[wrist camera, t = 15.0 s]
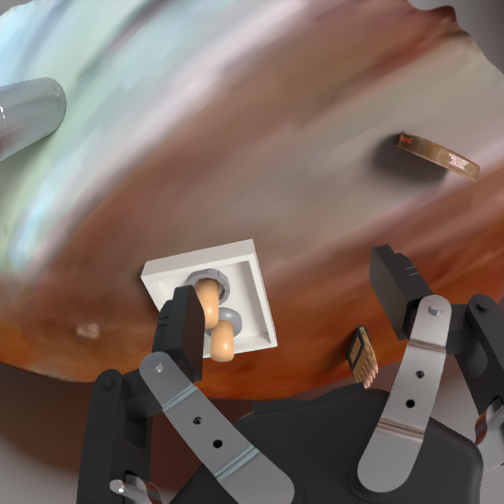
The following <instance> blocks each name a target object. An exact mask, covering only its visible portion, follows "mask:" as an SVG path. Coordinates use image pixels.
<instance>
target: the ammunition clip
mask: <svg viewBox="0 0 504 504" xmlns="http://www.w3.org/2000/svg"><path fill="white" fill-rule="evenodd" d="M371 345H372V342H371V340H370V337H369V335H368V332H367V329H366V327H365V326H359V327H357V329H356V332H355V335H354V337H353V340H352V343H351V345H350V348H349V350H348V353H347V355H346V357H347V359H348V362H349V365H350V368H351V371H352V373H353V374H354V377H355V380H356V382H357V383H358V382H362V381H363V383H364V387H365V388H367V386H368V387H370V382H371V383H372V377H373V378H375V372H376V373H378V366H377V362H376V359H375V354H374V352H373V349H372V346H371Z"/></svg>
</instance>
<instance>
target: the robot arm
mask: <svg viewBox="0 0 504 504" xmlns="http://www.w3.org/2000/svg"><path fill="white" fill-rule="evenodd" d="M65 109H66V99H65V94H64V92H63V89H62V88H61V86H60V85H59V84H58V83H57V82H56V81H55V80H53V79H50V78H39V79H34V80H28V81H23V82H19V83H14V84H10V85H6V86H2V87H0V162H1V161H3V160H4V159H6V158H8V157H9V156H11V155H13V154H14V153H16V152H18V151H20V150H21V149H23V148H25V147H27V146H29V145H30V144H32V143H34V142H36V141H38V140H40V139H42V138H44V137H46V136H48V135H49V134H51V133H53V132H54V131H55V130H56V129H57V128H58V127H59V126H60V124H61V122H62V120H63V118H64V115H65ZM370 281H371V285H372V287H373V289H374V291H375V293H376V295H377V297H378V299H379V301H380V303H381V305H382V307H383V309H384V311H385V313H386V315H387V317H388V319H389V321H390V323H391V325H392V327H393V329H394V331H395V333H396V335H397V337H398V340H399V341H400V340H403V339H406V338H407V339H408V341H409V342H408V345H407V348H406V351H405V354H404V357H403V360H402V363H401V367H400V369H399V372H398V375H397V377H396V380H395V383H394V385H393V388H392V391H391V393H389V392H387V391H384V390H380V389H372V388H365V387H364V383H363V381H362V382H358V383H355V384H351V385H347V386H343V387H339V388H336V389H334V390H332V391H330V392H328V393H325V394H324V395H321V396H319V397H317V398H315V399H313V400H309V401H300V400H298V401H297V400H276V401H270V402H263V403H257V404H253V405H254V411H253V412H251V413H249V414H247V415H245V416H243V417H241V418H240V419H238V421H236V422H235V423H234V424H233V425H232V424H231V423H230V422H229V421H228V420H227V419H226V418H225V417H224V416H223V415H222V414H221V413H220V412H219V411H218V410H217V409H216V408H215V407H214V406H213V405H212V403H211V402H210V401H209V400H208V399H207V398H206V397H205V396H204V395H203V394H202V392H201V391H200V390H199V389H198V388H197V387H196V386H195V385H193V382H195V381H202V366H203V349H204V334H205V314H204V310H203V307H202V305H201V303H200V301H199V298H198V296H197V294H196V291H195V289H194V287H193V285H186V286H180V287H176V288H175V289H174V294H173V299H172V300H167V301H166V302H165V304H164V305H163V307H162V308H161V310H160V315H159V320H158V324H157V328H156V333H155V338H154V343H153V348H152V353H151V354H149V355H148V356H146V357H145V358H144V359H143V361H142V362H141V364H140V368H138V369H136V370H134V371H131V372H129V373H126V374H123V375H122V374H121V373H120V372H119V371H118V370H115V369H109V370H106V371H104V372H102V373H101V374H100V375H99V376H98V377H97V379H96V381H95V384H94V388H93V393H92V398H91V402H90V407H89V413H88V419H87V424H86V429H85V435H84V442H83V448H82V455H81V463H80V471H79V479H78V490H77V502H76V504H163V503H162V500H161V494H160V492H159V490H158V489H157V487H156V486H154V485H153V484H151V483H150V464H151V439H152V421H153V415H155V414H158V413H161V412H164V413H165V414H166V416H167V417H168V419H169V420H170V421H171V423H172V424H173V425H174V426H175V428H176V429H177V431H178V432H179V433H180V435H181V436H182V437H183V438H184V440H185V441H186V442H187V444H188V445H189V446H190V447H191V449H192V450H193V451H194V452H195V454H196V455H197V456H198V457H199V458H200V460H201V461H202V462H203V463H202V464H201V465H200V466H199V468H198V469H197V470H196V471H195V473H194V474H193V475H192V476H191V477H190V479H189V480H188V481H187V483H186V484H185V485H184V486H183V487H182V488H181V490H180V491H179V492H178V493H177V494H176V496H175V497H174V498H173V499H172V500H171V501H170V503H169V504H480V499H479V497H480V486H481V481H482V476H483V474H484V473H486V472H487V471H489V470H491V469H493V468H495V467H496V466H498V465H504V315H503V313H502V312H501V310H500V309H499V307H498V306H497V304H496V303H495V301H494V300H493V299H492V298H491V297H489V296H487V295H484V294H476V295H473V296H472V297H471V298H470V300H469V302H468V304H456V305H453V304H450V303H449V302H448V301H447V300H446V299H445V298H443V297H441V296H438V295H434V294H433V292H432V291H431V289H430V288H429V286H428V285H427V283H426V282H425V280H424V279H423V278H422V276H421V275H420V274H419V273H418V271H417V269H416V268H414V265H413V264H412V262H411V261H410V260H409V258H407V257H406V256H404V255H403V254H401V253H396V254H395V253H394V252H393V251H392V249H391V248H390V246H389V245H388V244H385V245H380V246H376V247H372V248H371V251H370ZM446 354H454V356H455V358H456V360H457V362H458V364H459V367H460V369H461V371H462V374H463V376H464V378H465V381H466V383H467V385H468V388H469V390H470V393H471V395H472V398H473V400H474V403H475V405H476V408H477V411H478V414H479V418H478V419H477V421H476V424H475V435H476V441H475V443H473V442H472V441H471V440H469V439H468V438H466V437H464V436H462V435H461V434H459V433H457V432H456V431H454V430H452V429H450V428H448V427H447V426H445V425H443V424H442V423H440V422H438V421H437V420H435V419H433V418H432V417H430V414H431V411H432V407H433V404H434V400H435V397H436V394H437V390H438V386H439V382H440V378H441V374H442V370H443V366H444V361H445V357H446Z"/></svg>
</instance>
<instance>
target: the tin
mask: <svg viewBox="0 0 504 504" xmlns="http://www.w3.org/2000/svg"><path fill="white" fill-rule="evenodd" d="M396 146H397V147H399V148H401V149H403V150H405V151H408V152H410V153H412V154H415V155H417V156H419V157H422V158H424V159H426V160H429V161H431V162H433V163H435V164H438V165H440V166H442V167H444V168H447V169H449V170H451V171H453V172H456V173H458V174H460V175H462V176H464V177H466V178H468V179H470V180H472V181H475V182H476V180H477V177H478V174H479V170H480V167H479V166H478V165H477V164H475V163H473V162H472V161H470V160H468V159H466V158H464V157H463V156H461V155H459V154H457V153H455V152H453V151H451V150H449V149H446V148H444V147H442V146H440V145H438V144H436V143H433V142H431V141H429V140H426V139H424V138H421V137H418V136H414V135H411V134H409V133H406V132H404V131H402V132H401V134H400V138H399V141H398V144H397V145H396Z"/></svg>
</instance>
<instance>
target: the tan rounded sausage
mask: <svg viewBox="0 0 504 504" xmlns="http://www.w3.org/2000/svg"><path fill="white" fill-rule="evenodd" d="M219 286H220V285H219V282H218V281H217V280H216V279H212V278H202V279H198V280H197V281H196V286H195V291H196V294H197V296H198V298H199V301H200V303H201V305H202V307H203V310H204V314H205V329H210V328H213V327H215V326H216V325H217V324H218V316H219Z"/></svg>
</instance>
